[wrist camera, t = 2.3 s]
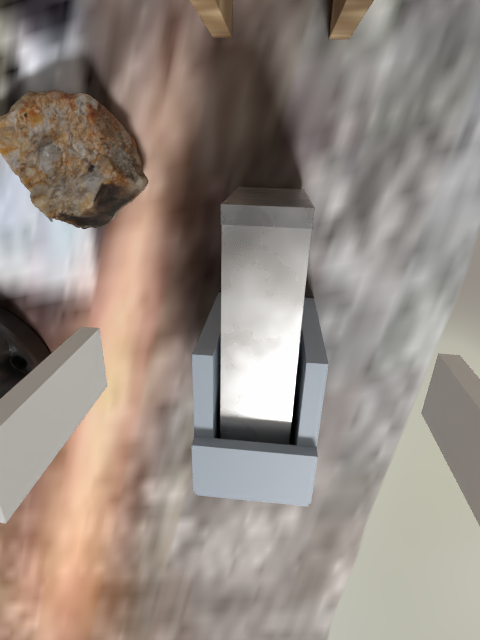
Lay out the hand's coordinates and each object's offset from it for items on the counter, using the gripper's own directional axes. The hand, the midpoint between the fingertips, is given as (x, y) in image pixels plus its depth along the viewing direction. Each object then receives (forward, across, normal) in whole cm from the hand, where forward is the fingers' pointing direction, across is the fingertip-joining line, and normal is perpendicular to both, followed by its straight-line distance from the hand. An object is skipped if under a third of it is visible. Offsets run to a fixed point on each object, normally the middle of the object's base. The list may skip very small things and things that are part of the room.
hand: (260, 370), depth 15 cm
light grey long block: (+16, 0, -4) cm, 16 cm away
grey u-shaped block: (+16, 0, -8) cm, 18 cm away
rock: (+16, -14, +7) cm, 23 cm away
